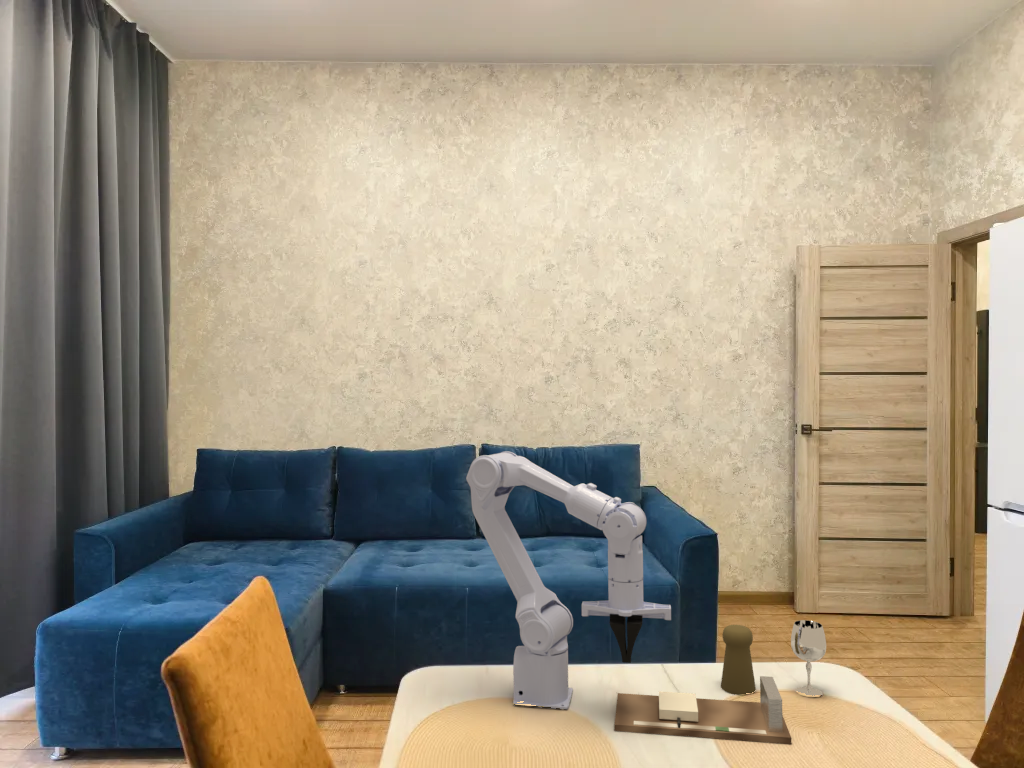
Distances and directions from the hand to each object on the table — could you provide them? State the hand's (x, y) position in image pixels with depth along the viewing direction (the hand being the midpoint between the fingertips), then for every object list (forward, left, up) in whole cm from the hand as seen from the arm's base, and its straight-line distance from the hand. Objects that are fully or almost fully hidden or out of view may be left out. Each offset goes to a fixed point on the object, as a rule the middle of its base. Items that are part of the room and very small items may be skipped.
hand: (626, 660), depth 122 cm
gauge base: (+11, 0, -9) cm, 15 cm away
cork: (+19, +14, -9) cm, 25 cm away
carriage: (+8, -1, -8) cm, 11 cm away
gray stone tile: (+23, 0, -9) cm, 24 cm away
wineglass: (+31, +14, -9) cm, 35 cm away
